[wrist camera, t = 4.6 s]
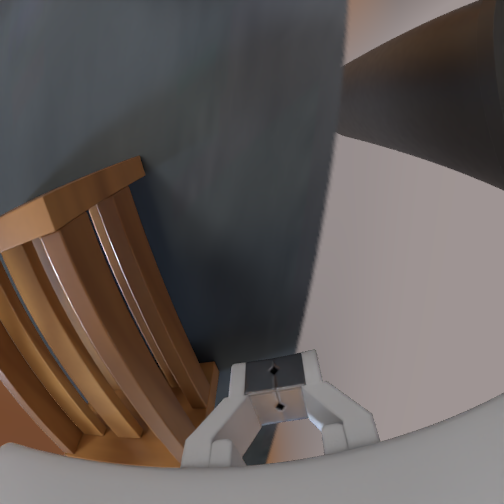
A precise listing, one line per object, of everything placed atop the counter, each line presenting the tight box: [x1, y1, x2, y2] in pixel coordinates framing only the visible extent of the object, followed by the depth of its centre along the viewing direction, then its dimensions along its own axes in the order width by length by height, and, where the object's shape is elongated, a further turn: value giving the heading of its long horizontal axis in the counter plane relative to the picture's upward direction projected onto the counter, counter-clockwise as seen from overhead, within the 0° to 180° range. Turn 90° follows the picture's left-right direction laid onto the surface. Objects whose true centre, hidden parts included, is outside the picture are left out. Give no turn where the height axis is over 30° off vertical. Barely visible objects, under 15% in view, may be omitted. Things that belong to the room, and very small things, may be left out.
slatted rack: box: [0, 156, 219, 468], centre depth 16 cm, size 10×16×9 cm, turn 14°
